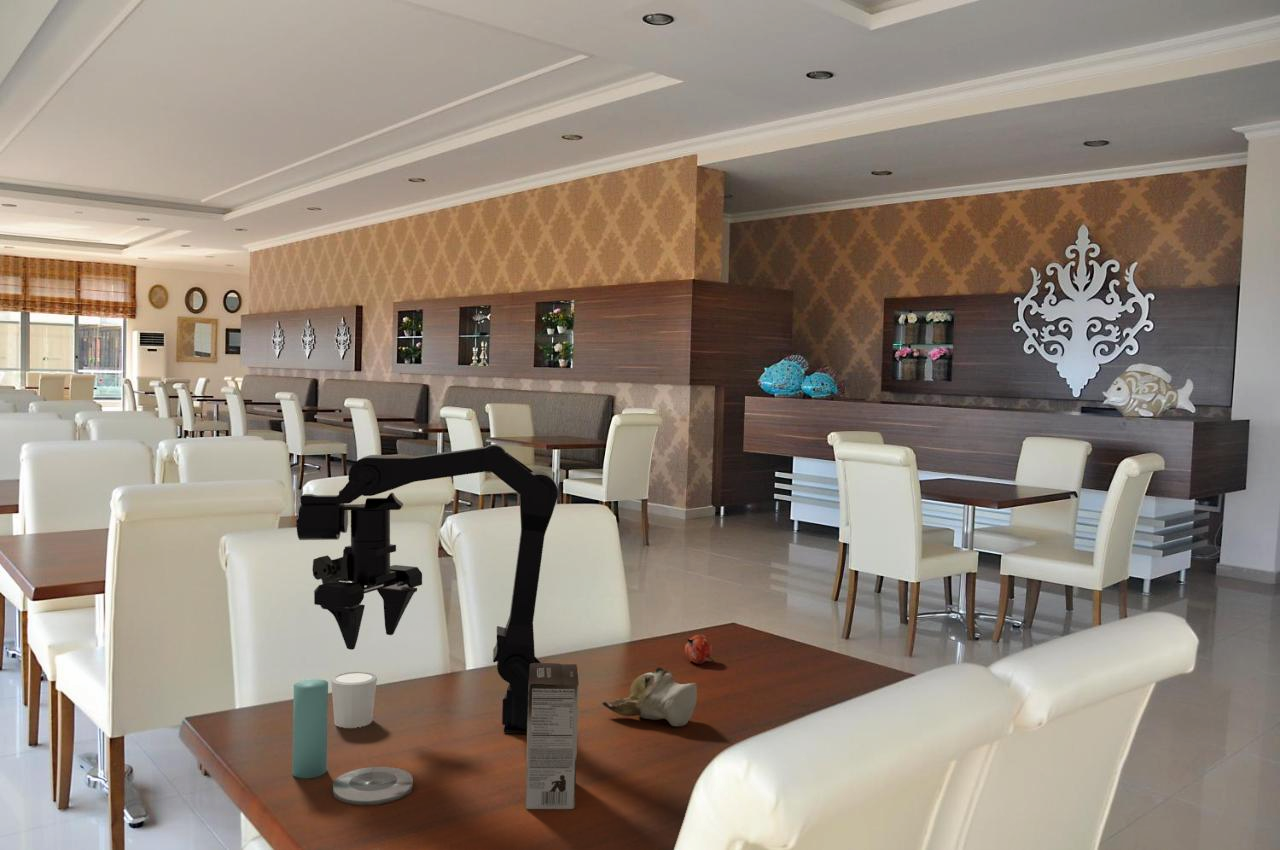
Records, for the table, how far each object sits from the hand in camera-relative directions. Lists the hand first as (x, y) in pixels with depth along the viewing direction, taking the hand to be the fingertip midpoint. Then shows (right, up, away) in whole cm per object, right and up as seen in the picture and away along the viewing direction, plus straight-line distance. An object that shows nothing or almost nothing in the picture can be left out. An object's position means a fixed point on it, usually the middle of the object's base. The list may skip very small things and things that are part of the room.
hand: (370, 641), depth 149 cm
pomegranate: (+52, -14, +44) cm, 70 cm away
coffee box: (+29, -15, -21) cm, 39 cm away
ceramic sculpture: (+43, -15, +10) cm, 47 cm away
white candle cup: (-4, -14, +4) cm, 15 cm away
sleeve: (-4, -14, -16) cm, 22 cm away
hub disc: (+6, -15, -21) cm, 26 cm away
